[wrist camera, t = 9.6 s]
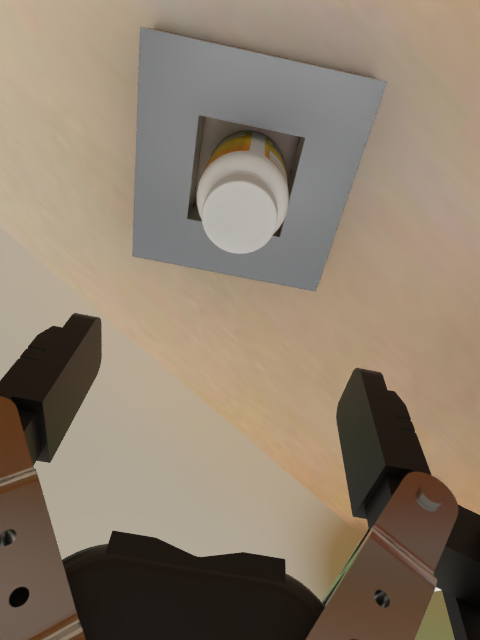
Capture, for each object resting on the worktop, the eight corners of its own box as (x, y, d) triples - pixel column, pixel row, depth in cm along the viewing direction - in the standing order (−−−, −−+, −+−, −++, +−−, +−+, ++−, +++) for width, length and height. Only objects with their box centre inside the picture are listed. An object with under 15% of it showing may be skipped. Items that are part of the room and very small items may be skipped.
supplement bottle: (201, 193, 30) (176, 249, 22) (222, 118, 27) (202, 150, 19) (270, 216, 31) (269, 278, 23) (297, 145, 28) (307, 187, 20)
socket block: (375, 78, 25) (386, 82, 23) (312, 272, 33) (315, 291, 31) (153, 28, 25) (140, 27, 22) (142, 239, 33) (132, 256, 30)
